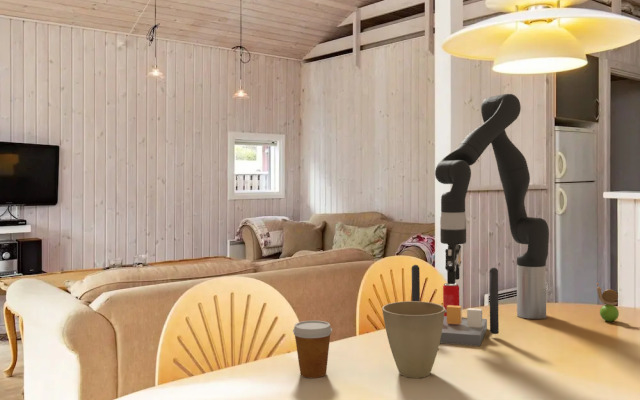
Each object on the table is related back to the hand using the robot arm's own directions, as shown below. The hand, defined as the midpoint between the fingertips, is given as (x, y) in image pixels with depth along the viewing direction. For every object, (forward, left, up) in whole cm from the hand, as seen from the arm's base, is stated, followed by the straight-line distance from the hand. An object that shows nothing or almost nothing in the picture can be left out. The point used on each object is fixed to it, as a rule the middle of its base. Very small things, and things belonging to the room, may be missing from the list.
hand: (453, 281), depth 173 cm
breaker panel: (0, 0, -16) cm, 16 cm away
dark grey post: (-12, 0, -15) cm, 19 cm away
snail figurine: (-44, -31, -16) cm, 56 cm away
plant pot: (+4, +38, -16) cm, 41 cm away
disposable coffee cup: (+27, +46, -16) cm, 56 cm away
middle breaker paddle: (0, 0, -12) cm, 12 cm away
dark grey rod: (+11, 0, -15) cm, 19 cm away
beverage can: (+3, -18, -16) cm, 24 cm away
